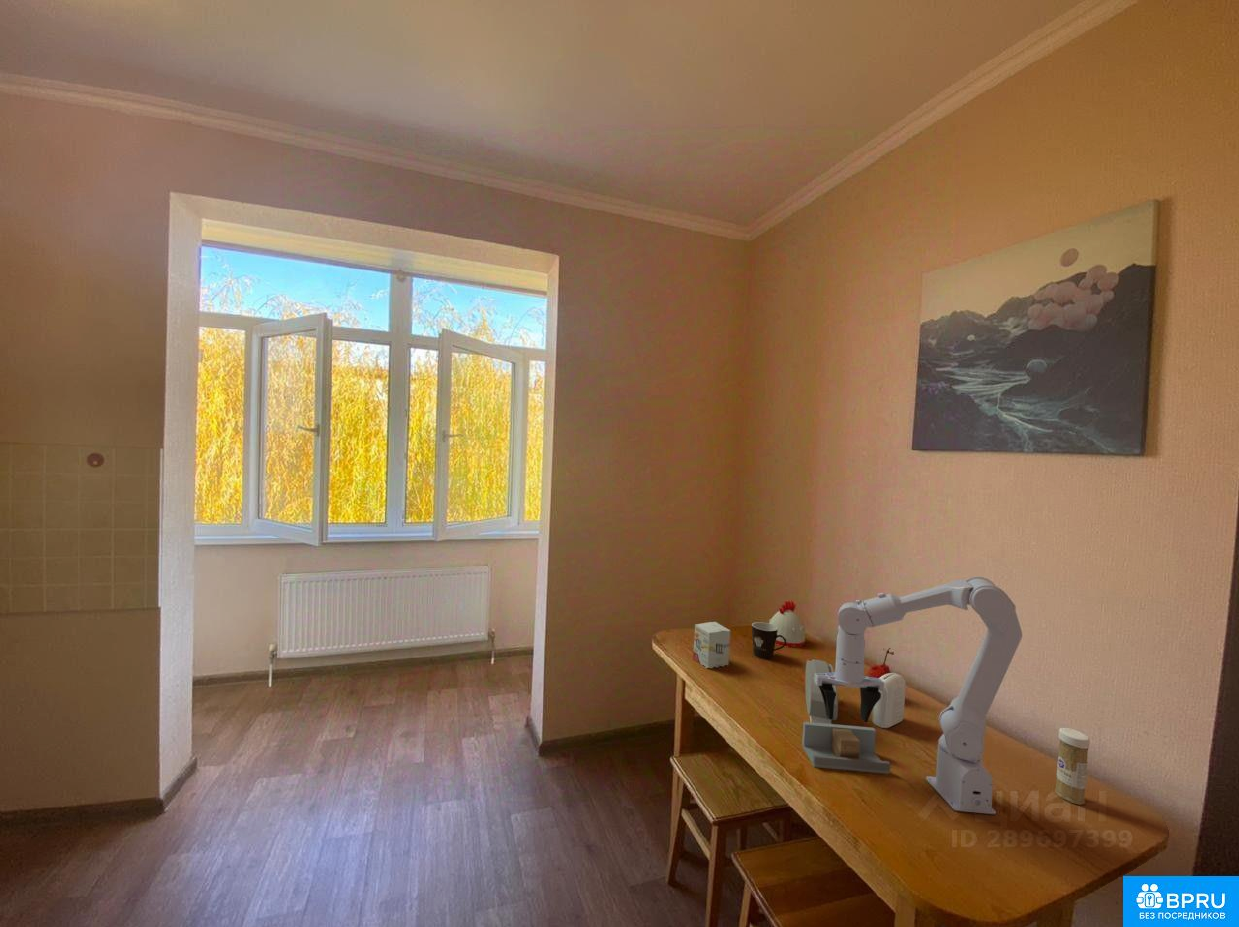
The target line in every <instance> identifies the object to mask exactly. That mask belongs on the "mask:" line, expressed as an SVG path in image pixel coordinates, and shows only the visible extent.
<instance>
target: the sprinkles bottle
mask: <svg viewBox="0 0 1239 927" xmlns="http://www.w3.org/2000/svg"><path fill="white" fill-rule="evenodd" d="M1058 740H1059V744H1058V756H1057V757H1058V758H1057V763H1056V764H1057V769H1056V784H1055V786H1056V787H1055V788H1054V791H1055V793H1056V794H1057V796H1059V797H1060V798H1061V799H1063V800H1064V801H1066V802H1068V803H1072V804H1074V805H1085V804H1086V799H1085V798H1086V788H1087V774H1088V753H1089V752H1088V751H1089V748H1090V738H1089V737H1088V736H1087V734H1084V733H1083V732H1082V731H1081V732H1080V731H1078V730H1076V729H1073V728H1067V727H1060V728H1059V729H1058Z"/></svg>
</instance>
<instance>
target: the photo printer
mask: <svg viewBox="0 0 1239 927" xmlns="http://www.w3.org/2000/svg"><path fill="white" fill-rule="evenodd" d="M880 679H881V680H882V681H883V682H884V691H881V690H878V691H879V692H880V693H881V698H880V700H879V701H878V702H877V703H876V704H875V706H874V708H873V709H872V712H871V722H872V723H873V724H874V725H875V726H877V727H879V728H881V729H882V728H883V729H888V728H891V727H893V726H894V725H897V724H899V723H901V722H902V721H903V720H904V717H905V701H906V688H907V685H906V684H907V683H906V680H905V679H904V677H903V676H902V674H901V675H900V674H897V673H896V672H891V673H889V674H885V675H883V676H881V677H880Z"/></svg>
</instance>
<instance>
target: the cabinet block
mask: <svg viewBox="0 0 1239 927" xmlns="http://www.w3.org/2000/svg"><path fill="white" fill-rule="evenodd" d="M859 746H860V741H859V740H858V739H857V737H856V736H855V735H854V734H853V732H852V731H851V730H845V729H833V733H832V752H833V753H834V755H835V756H836V757H845V758H856V759H859Z"/></svg>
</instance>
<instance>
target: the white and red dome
mask: <svg viewBox="0 0 1239 927" xmlns="http://www.w3.org/2000/svg"><path fill="white" fill-rule="evenodd" d="M795 608H796V603H794V600H787V601H785V600H784V604H781V608H780V607H779V610H778V611H777V612H776V613H775V614H774V615H773V616H772V618H769V620H768V623H769V624H772V625H775V626H776V627H777V628H778V631H777V635H782V636H783V637H784V638H785V639H786V645H785V646H788V647H787V648H791V647H797V648H801V647H800V646H802V645H804V644H806V638H805V627H804V626H803V624H802V622H801V620H800V618H799V616H798V615H797V614H796V613H795V612H794V611H795ZM775 643H776V644H775V645H777V644H779V645H778V646H780V645H784V643H785V642H784V639H783V638H782V637H777V639H776V642H775ZM804 646H805V645H804ZM802 647H803V646H802Z"/></svg>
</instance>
